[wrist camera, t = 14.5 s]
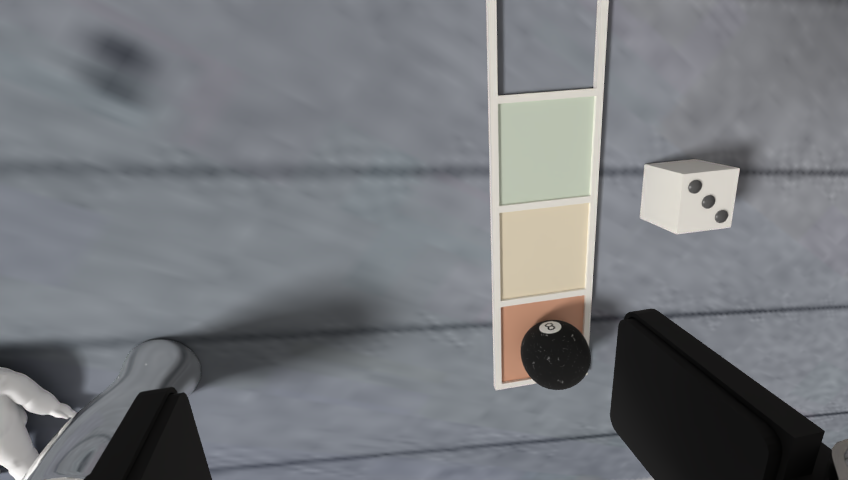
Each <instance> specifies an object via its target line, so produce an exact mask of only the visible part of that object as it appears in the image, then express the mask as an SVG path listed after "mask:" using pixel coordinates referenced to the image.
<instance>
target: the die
mask: <svg viewBox="0 0 848 480" xmlns="http://www.w3.org/2000/svg"><path fill="white" fill-rule="evenodd" d="M739 171H740V168H737V167H732V166H727V165H722V164H717V163H712V162H708V161H703V160H698V159H690V160H680V161H671V162H661V163H651V164H645V166H644V177H643V188H642V200H641V211H640V218H641V219H643V220H645V221H648V222H650V223H652V224H654V225H657V226H659V227H661V228H663V229H666V230H668V231H670V232H673V233H675V234H683V233H690V232H698V231H706V230H714V229H722V228H730V227H731V222H732V215H733V209H734V202H735V196H736V190H737V183H738V177H739Z"/></svg>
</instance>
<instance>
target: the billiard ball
mask: <svg viewBox="0 0 848 480" xmlns="http://www.w3.org/2000/svg"><path fill="white" fill-rule="evenodd" d="M520 352H521V360H522V363H523V366H524V368H525V370H526V372H527V374H528V375H529V376H530V377H531V379H532V380H533V381H535V382H536V383H537V384H539V385H541V386H542V387H545V388H548V389H553V390H562V389H567V388H570V387H572V386H574V385H576V384H577V383H579V382H580V381H581V380H582V379H583V378H584V377H585V375H586V374H587V372H588V369H589V366H590V359H591V356H590V349H589V346H588V343H587V341H586V339H585V337H584V336H583V335H582V333H581V332H580V331H579V330H578V329H577V328H576V327H575V326H573V325H571V324H570V323H567V322H565V321H560V320H546V321H542V322H540V323H537V324H536V325H534V326H533V327H531V328H530V329H529V330H528V331H527V332H526V334H525V335H524V337H523V340H522V343H521V350H520Z"/></svg>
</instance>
